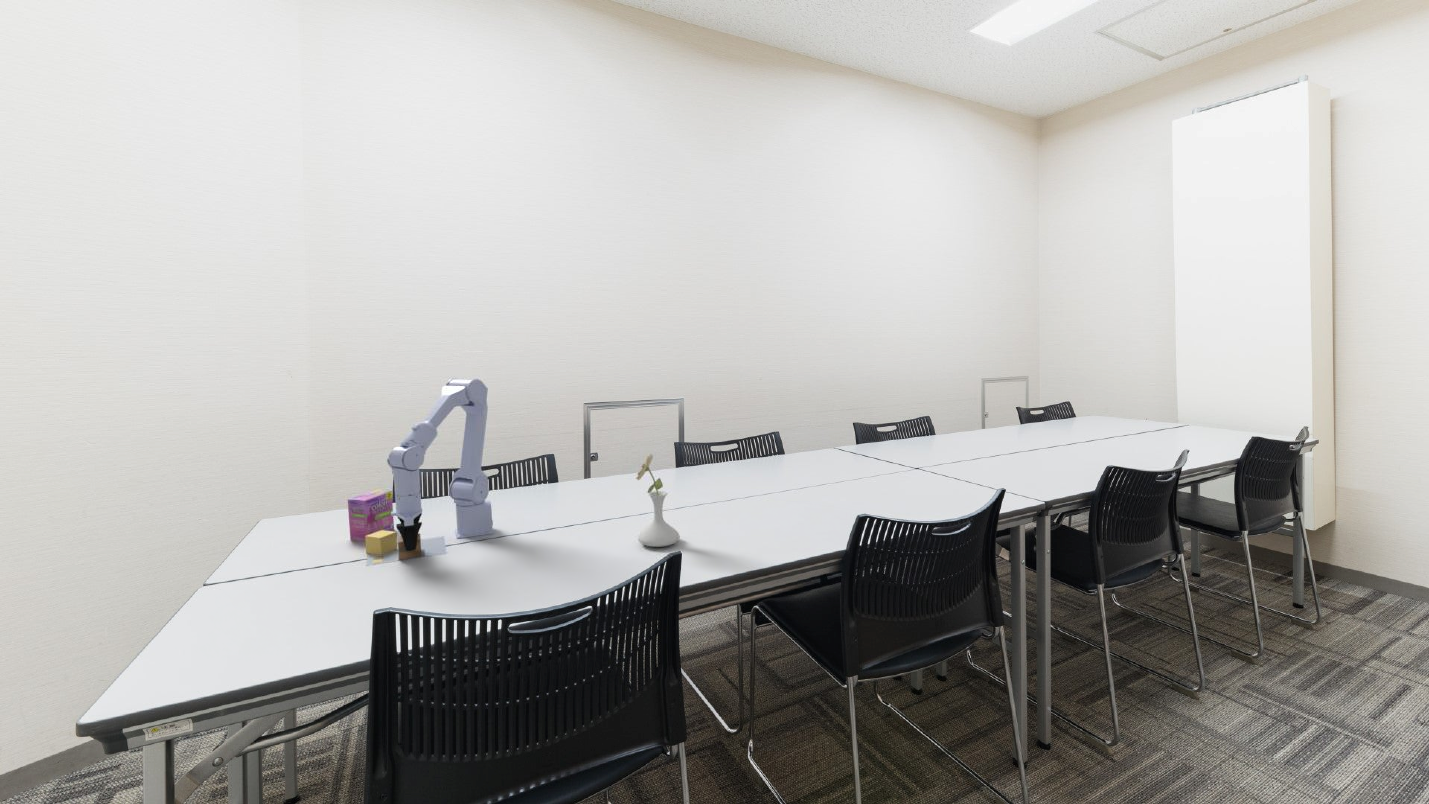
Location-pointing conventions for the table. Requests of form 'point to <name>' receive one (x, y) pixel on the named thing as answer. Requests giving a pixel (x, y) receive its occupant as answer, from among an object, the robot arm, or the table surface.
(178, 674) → the table surface
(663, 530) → the flower in vase
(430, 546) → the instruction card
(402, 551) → the walnut block
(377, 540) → the mustard block
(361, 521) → the box
